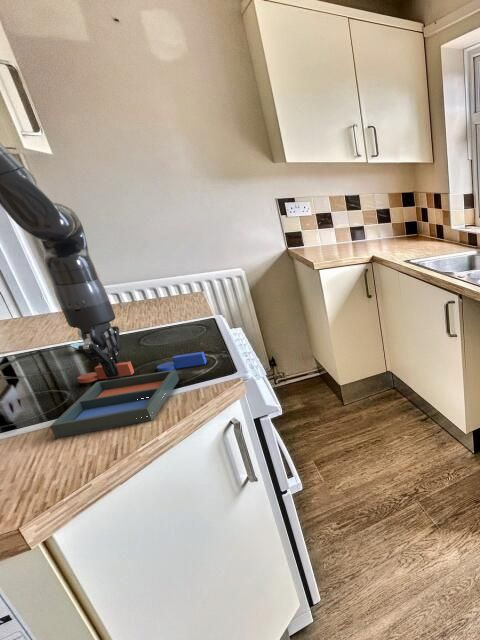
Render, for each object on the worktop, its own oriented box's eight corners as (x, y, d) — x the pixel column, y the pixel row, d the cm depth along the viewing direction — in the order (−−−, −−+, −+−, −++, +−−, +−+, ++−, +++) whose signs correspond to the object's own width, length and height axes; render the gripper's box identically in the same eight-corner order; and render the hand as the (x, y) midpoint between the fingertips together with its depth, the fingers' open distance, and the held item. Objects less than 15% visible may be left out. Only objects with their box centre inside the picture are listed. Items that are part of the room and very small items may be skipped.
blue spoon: (155, 373, 98) (151, 362, 97) (161, 367, 101) (157, 356, 100) (204, 366, 102) (200, 355, 100) (207, 360, 105) (204, 349, 104)
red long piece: (75, 384, 92) (70, 372, 91) (83, 377, 95) (79, 366, 94) (130, 376, 96) (126, 365, 95) (136, 370, 99) (132, 359, 98)
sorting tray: (55, 438, 75) (49, 426, 74) (101, 392, 90) (96, 381, 89) (152, 420, 80) (147, 408, 79) (179, 379, 95) (175, 369, 94)
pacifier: (77, 348, 113) (72, 355, 109) (67, 326, 111) (62, 332, 106) (113, 342, 117) (110, 348, 113) (104, 320, 115) (101, 326, 110)
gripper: (78, 295, 94) (107, 365, 100) (43, 313, 82) (79, 391, 89) (120, 291, 96) (146, 360, 103) (92, 308, 85) (123, 384, 91)
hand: (114, 374), depth 96 cm, fingers closed on red long piece, 1 cm apart
